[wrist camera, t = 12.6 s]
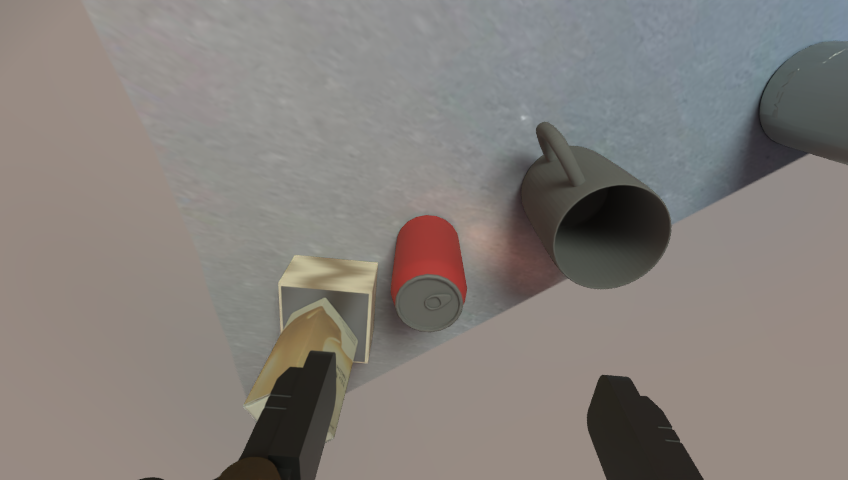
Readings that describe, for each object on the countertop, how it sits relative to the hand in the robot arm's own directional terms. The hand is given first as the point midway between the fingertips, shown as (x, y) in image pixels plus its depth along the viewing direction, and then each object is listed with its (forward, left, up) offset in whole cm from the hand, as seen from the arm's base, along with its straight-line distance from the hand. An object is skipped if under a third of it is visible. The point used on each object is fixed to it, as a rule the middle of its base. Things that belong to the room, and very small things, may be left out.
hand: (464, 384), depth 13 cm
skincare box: (+9, +18, -26) cm, 32 cm away
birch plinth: (+9, +18, -31) cm, 37 cm away
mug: (-12, +1, -32) cm, 34 cm away
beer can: (0, +10, -32) cm, 33 cm away
